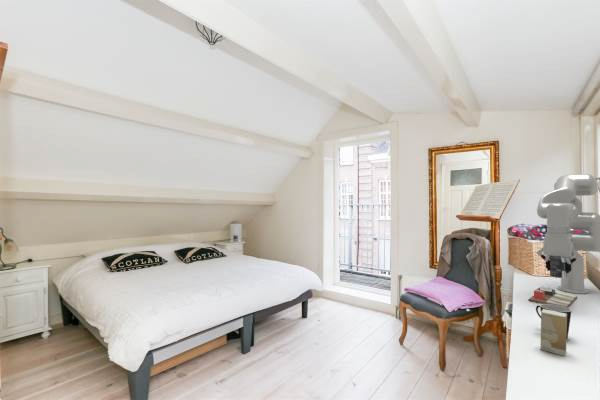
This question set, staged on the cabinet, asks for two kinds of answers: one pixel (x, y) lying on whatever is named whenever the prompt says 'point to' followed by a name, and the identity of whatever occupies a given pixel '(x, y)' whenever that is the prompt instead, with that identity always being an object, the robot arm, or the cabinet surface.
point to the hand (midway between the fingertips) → (558, 271)
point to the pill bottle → (558, 267)
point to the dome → (546, 288)
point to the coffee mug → (557, 309)
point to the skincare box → (553, 331)
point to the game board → (555, 298)
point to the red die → (539, 294)
